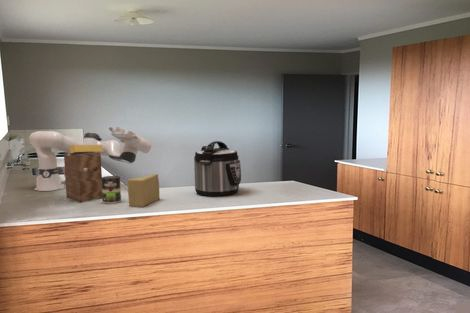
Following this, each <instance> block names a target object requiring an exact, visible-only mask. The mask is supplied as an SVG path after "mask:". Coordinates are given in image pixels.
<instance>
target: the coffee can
mask: <svg viewBox="0 0 470 313" xmlns="http://www.w3.org/2000/svg"><path fill="white" fill-rule="evenodd" d="M101 179H102V198H101V199H102V203H103V204H117V203H121V202H122V193H121V189H122V188H121V176H118V175H106V176H102V178H101Z"/></svg>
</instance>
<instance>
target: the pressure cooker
mask: <svg viewBox="0 0 470 313" xmlns="http://www.w3.org/2000/svg"><path fill="white" fill-rule="evenodd" d="M216 144H217V145H218V147H215V146H216ZM200 149H201V150H199V151H195V152H194V153H195V154H194V159H193V165H194V169H193V170H194V188H195V192H196V194H198V195H199V196H205V197H206V196H207V197H223V196H231V195H234V194H236V193H238V192H239V188H240V184H241V183H242V169H241V160H240V159H239V155H238V151H237V150H233V149H230V148H229V147H228V145H227V144H225V143H224V142H222V141H219V140H215V141H212V142H210V143H209V144H208V145H203V146H201V148H200Z"/></svg>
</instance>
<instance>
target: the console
mask: <svg viewBox="0 0 470 313" xmlns="http://www.w3.org/2000/svg"><path fill="white" fill-rule="evenodd" d="M63 162H64V164H63V165H64V166H65V176H64V178H65V179H64V180H65V194H66V199H68V198H69V200H71V201H76V202H78V201H79V203H83V202H89V201H94V200H95V201H96V200H99V199H100V200H101V199H102V179H101V178H102V177H103V176H102V175H103V172H102V171H103V170H102V155H101V154H100V153H94V152H85V153H67V152H64V154H63Z"/></svg>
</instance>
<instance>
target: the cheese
mask: <svg viewBox="0 0 470 313" xmlns="http://www.w3.org/2000/svg"><path fill="white" fill-rule="evenodd" d="M127 194H128V204H129V207H137V208H143V207H146V206H148V205H149V204H152V203H154V202H156V201H158V200H160V182H159V175H158V174H157V173H152V174H149V175H145V176H140V177H136V178H130V179H128V180H127Z"/></svg>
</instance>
